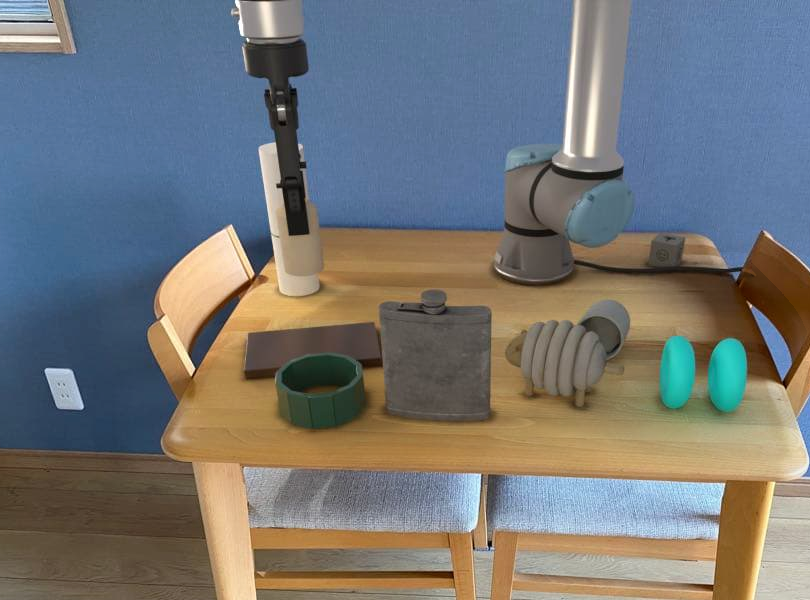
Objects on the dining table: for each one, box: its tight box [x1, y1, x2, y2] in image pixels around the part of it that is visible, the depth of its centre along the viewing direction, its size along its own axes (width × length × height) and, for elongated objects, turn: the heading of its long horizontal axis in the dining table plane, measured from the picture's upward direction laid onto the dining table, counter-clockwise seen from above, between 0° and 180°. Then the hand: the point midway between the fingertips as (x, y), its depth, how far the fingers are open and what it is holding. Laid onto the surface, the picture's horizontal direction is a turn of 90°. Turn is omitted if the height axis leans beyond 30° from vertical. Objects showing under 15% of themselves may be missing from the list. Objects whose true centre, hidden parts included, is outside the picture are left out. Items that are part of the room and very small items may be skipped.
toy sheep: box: [504, 319, 625, 408], centre depth 104 cm, size 11×17×11 cm, turn 72°
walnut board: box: [243, 321, 383, 380], centre depth 117 cm, size 20×12×2 cm, turn 101°
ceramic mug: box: [573, 299, 631, 361], centre depth 117 cm, size 11×8×8 cm
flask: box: [378, 288, 493, 422], centre depth 98 cm, size 4×14×18 cm, turn 84°
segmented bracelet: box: [274, 352, 367, 430], centre depth 104 cm, size 12×12×5 cm
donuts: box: [659, 335, 748, 413], centre depth 103 cm, size 10×10×10 cm
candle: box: [276, 198, 325, 276], centre depth 104 cm, size 6×6×10 cm
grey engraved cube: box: [647, 232, 686, 268], centre depth 146 cm, size 5×5×5 cm
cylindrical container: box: [258, 141, 321, 297], centre depth 130 cm, size 7×7×25 cm
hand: (298, 225), depth 103 cm, fingers closed on candle, 5 cm apart
